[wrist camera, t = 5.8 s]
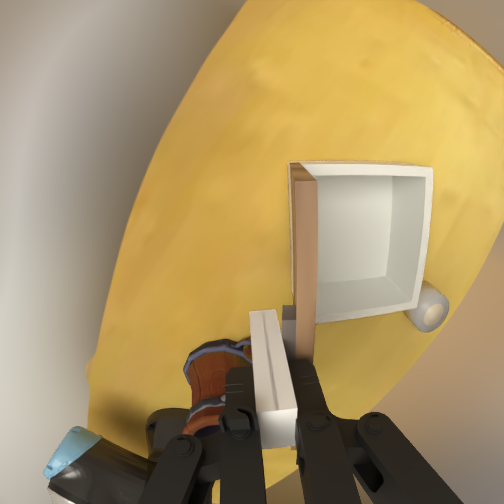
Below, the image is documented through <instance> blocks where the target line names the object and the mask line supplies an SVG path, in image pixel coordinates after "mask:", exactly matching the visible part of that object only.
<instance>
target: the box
mask: <svg viewBox="0 0 504 504" xmlns="http://www.w3.org/2000/svg"><path fill="white" fill-rule="evenodd" d="M298 162H299V163H300V164H301V165H302V166H303V167H304V168H305V169H306V170H307V171H308V172H309V173H310V174H311V175H312V176H313V177H314V178H315V179H316V180H317V186H318V274H317V303H316V323H315V324H319V323H327V322H335V321H342V320H349V319H356V318H362V317H368V316H375V315H380V314H386V313H392V312H397V311H403V310H408V309H413V308H417V304H418V299H419V295H420V290H421V285H422V279H423V273H424V267H425V261H426V254H427V247H428V239H429V230H430V220H431V207H432V190H433V168H432V167H426V166H420V165H414V164H407V163H401V162H389V161H357V160H314V161H287V168H288V189H289V215H290V249H291V291H292V294H293V235H292V203H291V179H290V163H298Z"/></svg>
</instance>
